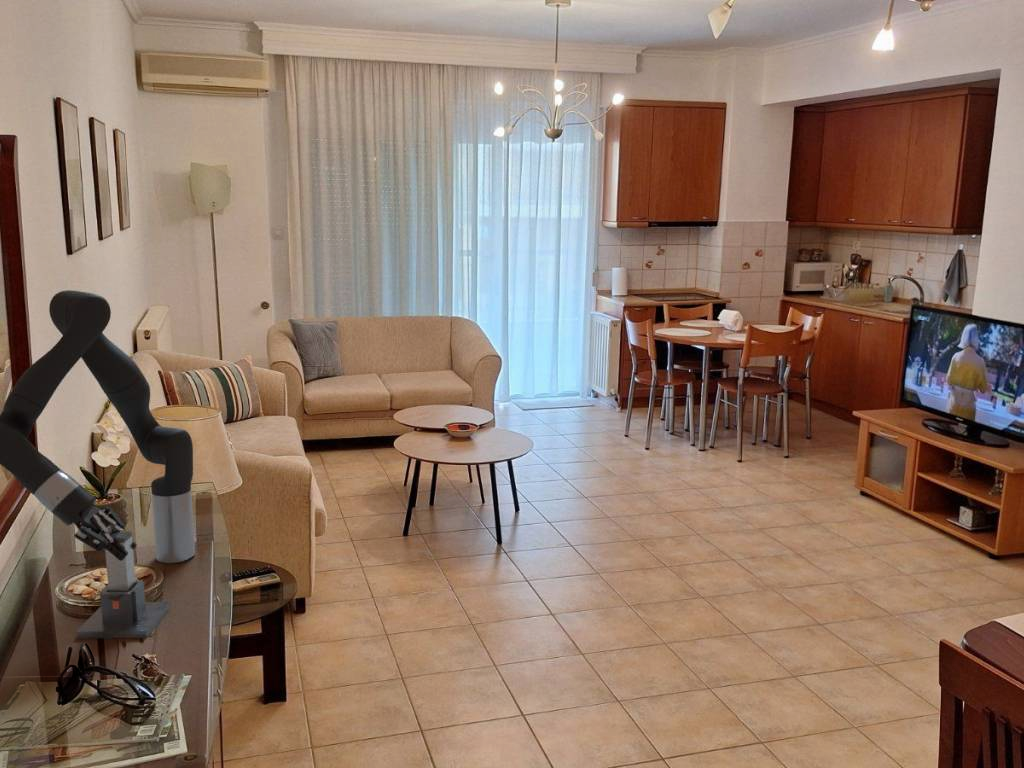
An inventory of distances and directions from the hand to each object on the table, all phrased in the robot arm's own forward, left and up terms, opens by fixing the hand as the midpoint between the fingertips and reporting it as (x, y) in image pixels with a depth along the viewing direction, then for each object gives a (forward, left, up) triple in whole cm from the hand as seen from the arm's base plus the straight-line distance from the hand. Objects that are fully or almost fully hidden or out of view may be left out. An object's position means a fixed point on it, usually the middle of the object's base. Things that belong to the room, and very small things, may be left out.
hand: (129, 552), depth 188 cm
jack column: (0, -2, -12) cm, 12 cm away
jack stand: (0, -2, -16) cm, 16 cm away
